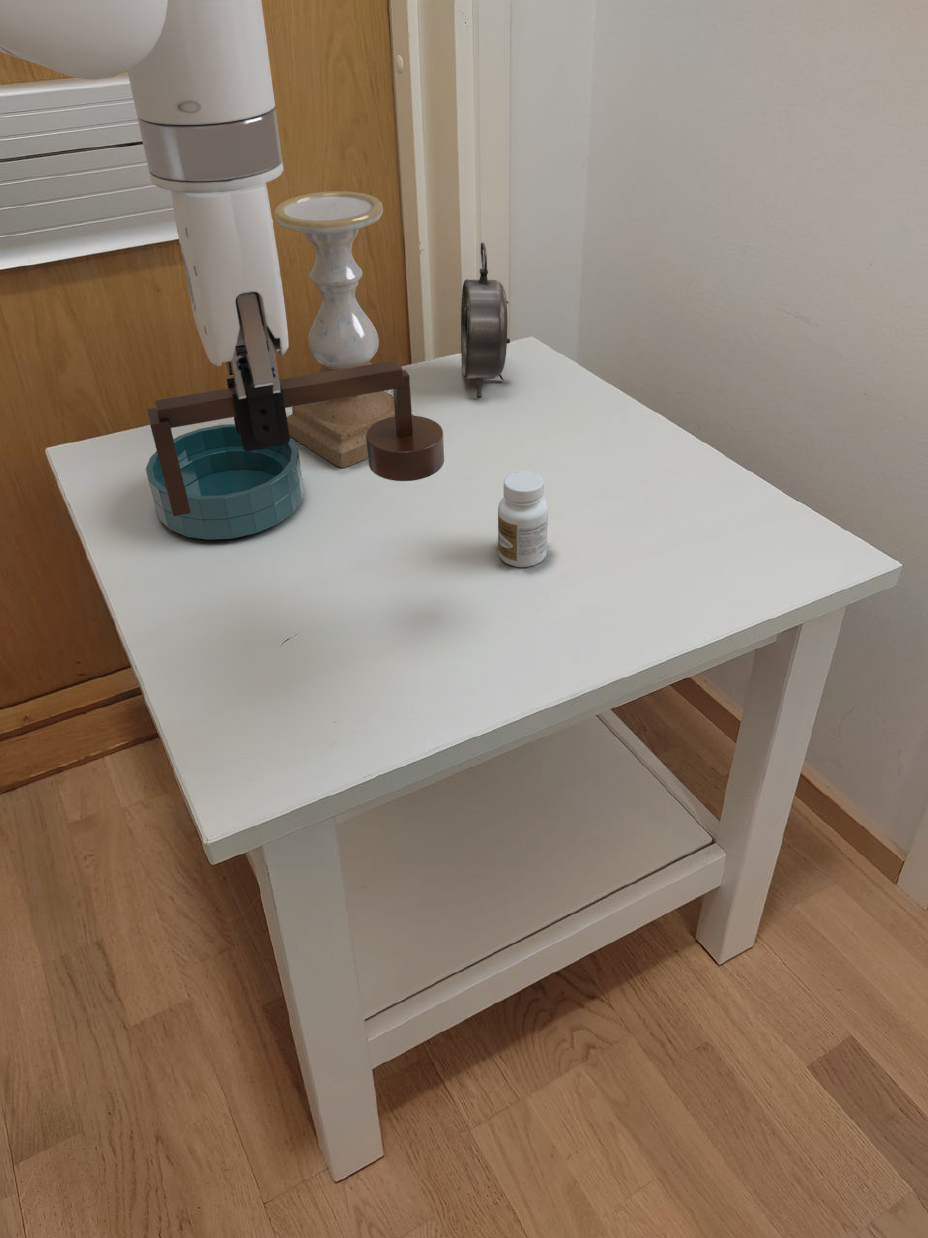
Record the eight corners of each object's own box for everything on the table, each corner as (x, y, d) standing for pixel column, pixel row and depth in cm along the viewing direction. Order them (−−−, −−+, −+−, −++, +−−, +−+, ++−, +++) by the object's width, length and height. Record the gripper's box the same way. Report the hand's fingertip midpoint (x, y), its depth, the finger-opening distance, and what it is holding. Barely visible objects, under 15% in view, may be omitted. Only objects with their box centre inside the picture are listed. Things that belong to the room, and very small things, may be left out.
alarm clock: (460, 363, 118) (456, 228, 108) (503, 361, 118) (504, 226, 108) (465, 404, 110) (462, 261, 99) (512, 401, 110) (513, 259, 99)
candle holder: (363, 401, 111) (342, 182, 96) (423, 434, 104) (410, 205, 89) (284, 432, 105) (247, 206, 90) (341, 469, 99) (312, 232, 84)
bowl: (168, 558, 87) (156, 512, 84) (150, 483, 98) (138, 439, 94) (319, 524, 91) (312, 479, 88) (286, 455, 101) (279, 413, 98)
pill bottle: (491, 545, 88) (491, 472, 83) (536, 536, 89) (538, 463, 84) (507, 572, 84) (507, 498, 79) (553, 563, 85) (557, 488, 80)
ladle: (430, 437, 73) (425, 342, 68) (454, 472, 69) (451, 373, 64) (167, 488, 68) (142, 388, 64) (176, 529, 64) (150, 426, 59)
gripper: (133, 124, 59) (193, 399, 70) (159, 191, 47) (226, 506, 59) (254, 112, 61) (293, 382, 72) (308, 174, 49) (344, 483, 61)
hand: (263, 436), depth 66 cm, fingers closed on ladle
